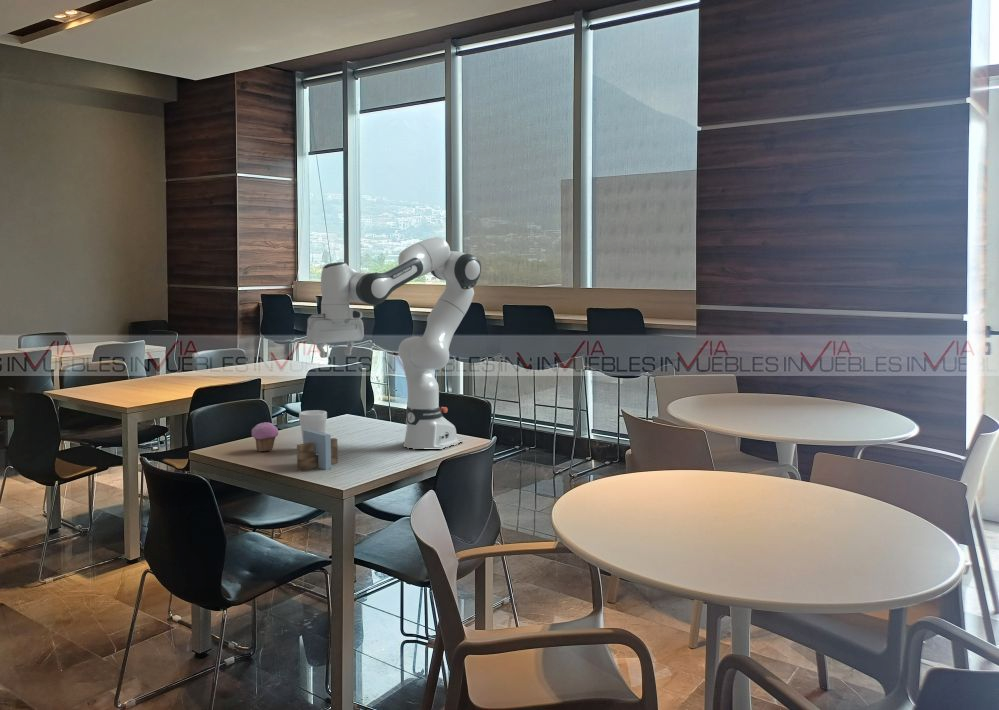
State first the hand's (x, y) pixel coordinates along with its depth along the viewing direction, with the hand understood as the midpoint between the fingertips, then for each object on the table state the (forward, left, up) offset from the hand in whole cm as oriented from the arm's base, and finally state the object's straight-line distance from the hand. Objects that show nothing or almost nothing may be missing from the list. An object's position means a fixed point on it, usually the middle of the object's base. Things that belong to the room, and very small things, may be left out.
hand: (335, 356), depth 252 cm
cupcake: (+7, -32, -35) cm, 48 cm away
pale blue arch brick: (+7, -1, -35) cm, 36 cm away
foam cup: (-6, -22, -35) cm, 42 cm away
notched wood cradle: (+7, -1, -35) cm, 36 cm away
